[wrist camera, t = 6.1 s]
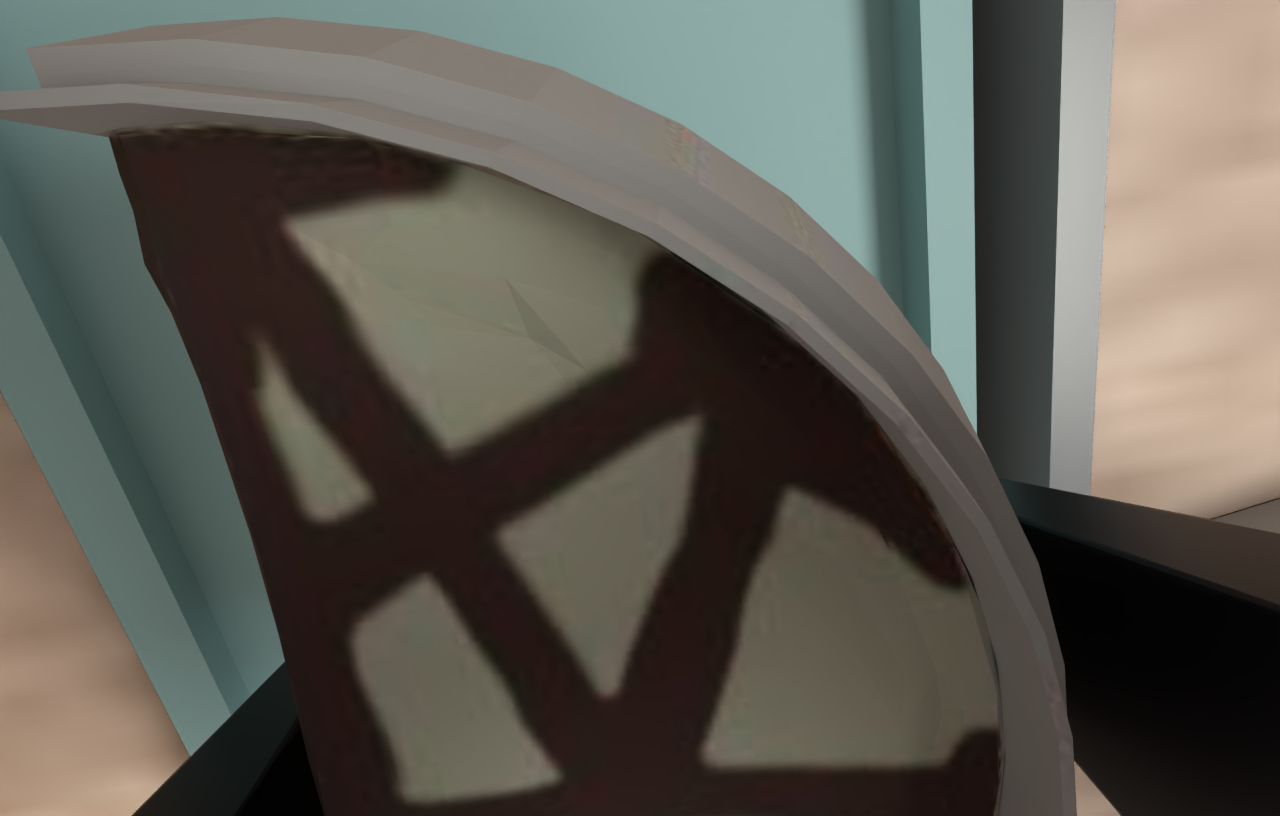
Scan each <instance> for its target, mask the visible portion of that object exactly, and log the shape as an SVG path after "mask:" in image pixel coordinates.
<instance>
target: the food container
mask: <svg viewBox="0 0 1280 816" xmlns="http://www.w3.org/2000/svg"><path fill="white" fill-rule="evenodd" d="M26 50H27V53H28V55H29V58H30V60H31V63H32V65H33V68H34V70H35V73H36V75H37V77H38V80H39V82H40V84H41V87H42V89H30V90H15V91H0V119H1V120H7V121H13V122H19V123H25V124H31V125H37V126H43V127H49V128H55V129H61V130H67V131H73V132H79V133H85V134H91V135H97V136H103V137H109V140H110V143H111V147H112V150H113V154H114V157H115V161H116V164H117V167H118V171H119V174H120V177H121V180H122V183H123V185H124V188H125V191H126V193H127V196H128V199H129V201H130V204H131V207H132V210H133V212H134V217H135V222H136V227H137V231H138V236H139V241H140V246H141V251H142V255H143V260H144V264H145V266H146V268H147V270H148V272H149V273H150V275H151V277H152V279H153V281H154V282H155V284H156V286H157V288H158V290H159V292H160V293H161V295H162V297H163V299H164V301H165V302H166V304H167V306H168V308H169V310H170V312H171V313H172V316H173V318H174V321H175V323H176V326H177V328H178V331H179V333H180V335H181V338H182V340H183V343H184V345H185V348H186V350H187V353H188V355H189V358H190V360H191V362H192V365H193V367H194V370H195V372H196V375H197V377H198V380H199V382H200V384H201V387H202V390H203V393H204V396H205V399H206V402H207V405H208V408H209V411H210V414H211V417H212V420H213V423H214V426H215V429H216V433H217V436H218V439H219V442H220V445H221V448H222V451H223V454H224V457H225V460H226V463H227V466H228V469H229V472H230V475H231V478H232V481H233V484H234V487H235V490H236V493H237V496H238V499H239V502H240V505H241V508H242V511H243V514H244V517H245V520H246V523H247V526H248V529H249V532H250V535H251V539H252V542H253V546H254V549H255V553H256V556H257V560H258V564H259V567H260V571H261V574H262V578H263V581H264V585H265V588H266V592H267V595H268V599H269V603H270V606H271V610H272V613H273V617H274V620H275V624H276V627H277V631H278V634H279V639H280V643H281V647H282V651H283V655H284V660H285V664H286V668H287V672H288V676H289V680H290V685H291V689H292V693H293V697H294V701H295V706H296V710H297V714H298V718H299V722H300V726H301V731H302V735H303V739H304V743H305V747H306V752H307V756H308V760H309V764H310V767H311V771H312V774H313V778H314V782H315V785H316V789H317V792H318V796H319V799H320V803H321V806H322V810H323V814H324V816H1077V812H1076V792H1075V772H1074V753H1073V737H1072V733H1071V729H1070V725H1069V722H1068V718H1067V704H1066V683H1065V665H1064V661H1063V657H1062V653H1061V649H1060V645H1059V641H1058V637H1057V634H1056V630H1055V626H1054V622H1053V618H1052V614H1051V610H1050V606H1049V602H1048V598H1047V594H1046V590H1045V586H1044V582H1043V579H1042V575H1041V571H1040V567H1039V563H1038V561H1037V559H1036V557H1035V555H1034V552H1033V550H1032V548H1031V546H1030V544H1029V542H1028V540H1027V538H1026V536H1025V534H1024V532H1023V529H1022V527H1021V525H1020V523H1019V521H1018V519H1017V517H1016V515H1015V513H1014V511H1013V508H1012V506H1011V504H1010V502H1009V500H1008V498H1007V496H1006V494H1005V492H1004V490H1003V487H1002V485H1001V483H1000V481H999V479H998V477H997V475H996V473H995V471H994V469H993V466H992V464H991V462H990V460H989V458H988V456H987V454H986V452H985V450H984V448H983V446H982V444H981V442H980V440H979V438H978V436H977V434H976V432H975V430H974V428H973V426H972V424H971V422H970V420H969V418H968V416H967V415H966V413H965V411H964V409H963V407H962V405H961V403H960V401H959V399H958V397H957V395H956V393H955V391H954V389H953V387H952V385H951V383H950V381H949V379H948V377H947V375H946V373H945V371H944V369H943V368H942V367H941V365H940V364H939V363H938V361H937V360H936V359H935V357H934V356H933V354H932V353H931V352H930V350H929V349H928V348H927V346H926V345H925V344H924V342H923V341H922V340H921V338H920V337H919V336H918V334H917V333H916V331H915V330H914V329H913V327H912V326H911V325H910V323H909V322H908V321H907V319H906V318H905V317H904V315H903V314H902V313H901V311H900V310H899V308H898V307H897V306H896V304H895V303H894V302H893V300H892V299H891V298H890V296H889V295H888V294H887V292H886V291H885V290H884V288H883V287H882V285H881V284H880V283H879V281H878V280H877V279H876V278H875V277H874V276H873V275H872V274H871V273H870V272H869V271H867V270H866V269H865V268H864V267H863V266H862V265H861V264H860V263H859V262H858V261H857V260H856V259H855V258H854V257H853V256H852V255H851V254H850V253H849V252H847V251H846V250H845V249H844V248H843V247H842V246H841V245H840V244H839V243H838V242H837V241H836V240H835V239H834V238H833V237H832V236H831V235H830V234H828V233H827V232H826V231H825V230H824V229H823V228H822V227H821V226H820V225H819V224H818V223H817V222H816V221H815V220H814V219H813V218H812V217H811V216H810V215H808V214H807V213H806V212H805V211H804V210H803V209H802V208H801V207H800V206H799V205H798V204H797V203H796V202H795V201H794V200H793V199H792V198H791V197H789V196H788V195H787V194H785V193H784V192H782V191H781V190H779V189H778V188H776V187H775V186H773V185H772V184H770V183H769V182H767V181H766V180H764V179H763V178H761V177H760V176H758V175H757V174H755V173H754V172H752V171H751V170H749V169H748V168H746V167H745V166H743V165H742V164H740V163H739V162H737V161H736V160H734V159H733V158H731V157H730V156H728V155H727V154H725V153H724V152H722V151H721V150H719V149H718V148H716V147H715V146H713V145H712V144H710V143H709V142H707V141H706V140H704V139H703V138H702V137H700V136H699V135H697V134H696V133H694V132H693V131H691V130H690V129H688V128H687V127H685V126H684V125H682V124H680V123H678V122H676V121H673V120H671V119H669V118H667V117H665V116H662V115H660V114H658V113H656V112H654V111H651V110H649V109H647V108H645V107H643V106H640V105H638V104H636V103H634V102H632V101H629V100H627V99H625V98H623V97H621V96H618V95H616V94H614V93H612V92H610V91H607V90H605V89H603V88H601V87H599V86H596V85H594V84H592V83H590V82H588V81H585V80H583V79H581V78H579V77H577V76H574V75H572V74H570V73H568V72H565V71H563V70H561V69H559V68H556V67H553V66H549V65H545V64H541V63H538V62H534V61H530V60H527V59H523V58H519V57H516V56H512V55H508V54H504V53H501V52H497V51H493V50H490V49H486V48H482V47H478V46H475V45H471V44H467V43H464V42H460V41H456V40H452V39H449V38H445V37H441V36H438V35H434V34H430V33H427V32H423V31H416V30H406V29H396V28H385V27H375V26H365V25H355V24H345V23H335V22H325V21H315V20H304V19H294V18H284V17H270V18H256V19H241V20H227V21H212V22H198V23H184V24H169V25H155V26H148V27H142V28H137V29H131V30H126V31H120V32H114V33H109V34H103V35H98V36H92V37H87V38H81V39H76V40H70V41H65V42H59V43H53V44H48V45H42V46H37V47H31V48H26Z"/></svg>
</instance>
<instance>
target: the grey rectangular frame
mask: <svg viewBox="0 0 1280 816" xmlns="http://www.w3.org/2000/svg"><path fill="white" fill-rule="evenodd" d="M1115 3H1116V0H972V24H973V118H974V211H975V304H976V397H977V436H978V438H979V440H980V442H981V444H982V446H983V448H984V450H985V452H986V454H987V456H988V458H989V460H990V462H991V464H992V466H993V469H994V471H995V473H996V475H997V477H998V478H1003V479H1008V480H1013V481H1019V482H1024V483H1029V484H1034V485H1039V486H1044V487H1049V488H1054V489H1059V490H1064V491H1069V492H1074V493H1079V494H1084V495H1089V496H1090V490H1091V470H1092V451H1093V431H1094V412H1095V392H1096V373H1097V353H1098V334H1099V314H1100V295H1101V275H1102V256H1103V237H1104V217H1105V198H1106V178H1107V159H1108V139H1109V120H1110V100H1111V81H1112V61H1113V42H1114V22H1115ZM1212 520H1216V521H1221V522H1226V523H1231V524H1236V525H1241V526H1246V527H1251V528H1256V529H1261V530H1266V531H1271V532H1277V533H1280V499H1278V500H1274V501H1271V502H1268V503H1264V504H1261V505H1258V506H1255V507H1251V508H1248V509H1245V510H1242V511H1238V512H1235V513H1232V514H1229V515H1225V516H1222V517H1219V518H1216V519H1212Z"/></svg>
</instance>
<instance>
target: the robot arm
mask: <svg viewBox="0 0 1280 816" xmlns="http://www.w3.org/2000/svg"><path fill="white" fill-rule="evenodd" d="M998 479H999V481H1000V483H1001V485H1002V487H1003V490H1004V492H1005V494H1006V496H1007V498H1008V500H1009V502H1010V504H1011V506H1012V508H1013V511H1014V513H1015V515H1016V517H1017V519H1018V521H1019V523H1020V525H1021V527H1022V529H1023V532H1024V534H1025V536H1026V538H1027V540H1028V542H1029V544H1030V546H1031V548H1032V550H1033V552H1034V555H1035V557H1036V559H1037V561H1038V563H1039V567H1040V571H1041V575H1042V579H1043V582H1044V586H1045V590H1046V594H1047V598H1048V602H1049V606H1050V610H1051V614H1052V618H1053V622H1054V626H1055V630H1056V634H1057V637H1058V641H1059V645H1060V649H1061V653H1062V657H1063V661H1064V665H1065V683H1066V704H1067V718H1068V722H1069V725H1070V729H1071V733H1072V737H1073V753H1074V761H1075V762H1076V764H1077V765H1078V766H1079V767H1080V768H1081V769H1082V771H1083V772H1084V773H1085V774H1086V775H1087V776H1088V778H1089V779H1090V780H1091V781H1092V782H1093V783H1094V785H1095V786H1096V787H1097V788H1098V789H1099V790H1100V792H1101V793H1102V794H1103V795H1104V796H1105V797H1106V799H1107V800H1108V801H1109V802H1110V803H1111V805H1112V806H1113V807H1114V808H1115V809H1116V810H1117V812H1118V813H1119V814H1120V815H1121V816H1280V533H1277V532H1271V531H1266V530H1261V529H1256V528H1251V527H1246V526H1241V525H1236V524H1231V523H1226V522H1221V521H1216V520H1211V519H1206V518H1201V517H1196V516H1191V515H1185V514H1180V513H1175V512H1170V511H1165V510H1160V509H1155V508H1150V507H1145V506H1140V505H1135V504H1130V503H1125V502H1120V501H1115V500H1110V499H1105V498H1099V497H1094V496H1089V495H1084V494H1079V493H1074V492H1069V491H1064V490H1059V489H1054V488H1049V487H1044V486H1039V485H1034V484H1029V483H1024V482H1019V481H1013V480H1008V479H1003V478H998ZM132 816H324V814H323V810H322V806H321V803H320V799H319V796H318V792H317V789H316V785H315V782H314V778H313V774H312V771H311V767H310V764H309V760H308V756H307V752H306V747H305V743H304V739H303V735H302V731H301V726H300V722H299V718H298V714H297V710H296V706H295V701H294V697H293V693H292V689H291V685H290V680H289V676H288V672H287V668H286V664H285V661H284V663H283V664H282V665H281V666H280V667H279V668H278V669H277V670H276V671H275V672H274V673H273V674H272V675H271V676H270V677H269V678H268V679H267V680H266V681H265V682H264V683H263V684H262V685H261V686H260V687H259V688H258V689H257V690H256V691H255V692H254V693H253V694H252V695H251V696H250V697H249V698H248V699H247V700H246V701H245V702H244V703H243V704H242V705H241V706H240V707H239V708H238V709H237V710H236V711H235V712H234V713H233V714H232V715H231V716H230V717H229V718H228V719H227V720H226V721H225V722H224V723H223V724H222V725H221V726H220V727H219V728H218V729H217V730H216V731H215V732H214V733H213V734H212V735H211V736H210V737H209V738H208V739H207V740H206V741H205V742H204V743H203V744H202V745H201V746H200V747H199V748H198V749H197V750H196V751H195V752H194V753H193V754H192V755H191V756H190V757H189V758H188V759H187V760H186V761H185V762H184V763H183V764H182V765H181V766H180V767H179V768H178V769H177V770H176V771H175V772H174V773H173V774H172V776H171V777H170V778H169V779H168V780H167V781H166V782H165V783H164V784H163V785H162V786H161V787H160V788H159V789H158V790H157V791H156V792H155V793H154V794H153V795H152V796H151V797H150V798H149V799H148V800H147V801H146V802H145V803H144V804H143V805H142V806H141V807H140V808H139V809H138V810H137V811H136V812H135V813H134V814H133V815H132Z"/></svg>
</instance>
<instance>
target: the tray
mask: <svg viewBox="0 0 1280 816" xmlns="http://www.w3.org/2000/svg"><path fill="white" fill-rule="evenodd" d="M270 17H284V18H294V19H304V20H315V21H325V22H335V23H345V24H355V25H365V26H375V27H385V28H396V29H406V30H416V31H423V32H427V33H430V34H434V35H438V36H441V37H445V38H449V39H452V40H456V41H460V42H464V43H467V44H471V45H475V46H478V47H482V48H486V49H490V50H493V51H497V52H501V53H504V54H508V55H512V56H516V57H519V58H523V59H527V60H530V61H534V62H538V63H541V64H545V65H549V66H553V67H556V68H559V69H561V70H563V71H565V72H568V73H570V74H572V75H574V76H577V77H579V78H581V79H583V80H585V81H588V82H590V83H592V84H594V85H596V86H599V87H601V88H603V89H605V90H607V91H610V92H612V93H614V94H616V95H618V96H621V97H623V98H625V99H627V100H629V101H632V102H634V103H636V104H638V105H640V106H643V107H645V108H647V109H649V110H651V111H654V112H656V113H658V114H660V115H662V116H665V117H667V118H669V119H671V120H673V121H676V122H678V123H680V124H682V125H684V126H685V127H687V128H688V129H690V130H691V131H693V132H694V133H696V134H697V135H699V136H700V137H702V138H703V139H704V140H706V141H707V142H709V143H710V144H712V145H713V146H715V147H716V148H718V149H719V150H721V151H722V152H724V153H725V154H727V155H728V156H730V157H731V158H733V159H734V160H736V161H737V162H739V163H740V164H742V165H743V166H745V167H746V168H748V169H749V170H751V171H752V172H754V173H755V174H757V175H758V176H760V177H761V178H763V179H764V180H766V181H767V182H769V183H770V184H772V185H773V186H775V187H776V188H778V189H779V190H781V191H782V192H784V193H785V194H787V195H788V196H789V197H791V198H792V199H793V200H794V201H795V202H796V203H797V204H798V205H799V206H800V207H801V208H802V209H803V210H804V211H805V212H806V213H807V214H808V215H810V216H811V217H812V218H813V219H814V220H815V221H816V222H817V223H818V224H819V225H820V226H821V227H822V228H823V229H824V230H825V231H826V232H827V233H828V234H830V235H831V236H832V237H833V238H834V239H835V240H836V241H837V242H838V243H839V244H840V245H841V246H842V247H843V248H844V249H845V250H846V251H847V252H849V253H850V254H851V255H852V256H853V257H854V258H855V259H856V260H857V261H858V262H859V263H860V264H861V265H862V266H863V267H864V268H865V269H866V270H867V271H869V272H870V273H871V274H872V275H873V276H874V277H875V278H876V279H877V280H878V281H879V283H880V284H881V285H882V287H883V288H884V290H885V291H886V292H887V294H888V295H889V296H890V298H891V299H892V300H893V302H894V303H895V304H896V306H897V307H898V308H899V310H900V311H901V313H902V314H903V315H904V317H905V318H906V319H907V321H908V322H909V323H910V325H911V326H912V327H913V329H914V330H915V331H916V333H917V334H918V336H919V337H920V338H921V340H922V341H923V342H924V344H925V345H926V346H927V348H928V349H929V350H930V352H931V353H932V354H933V356H934V357H935V359H936V360H937V361H938V363H939V364H940V365H941V367H942V368H943V369H944V371H945V373H946V375H947V377H948V379H949V381H950V383H951V385H952V387H953V389H954V391H955V393H956V395H957V397H958V399H959V401H960V403H961V405H962V407H963V409H964V411H965V413H966V415H967V416H968V418H969V420H970V422H971V424H972V426H973V428H974V430H975V432H976V434H977V397H976V304H975V211H974V118H973V24H972V0H0V91H15V90H30V89H42V87H41V84H40V82H39V80H38V77H37V75H36V73H35V70H34V68H33V65H32V63H31V60H30V58H29V55H28V53H27V50H26V48H31V47H37V46H42V45H48V44H53V43H59V42H65V41H70V40H76V39H81V38H87V37H92V36H98V35H103V34H109V33H114V32H120V31H126V30H131V29H137V28H142V27H148V26H155V25H169V24H184V23H198V22H212V21H227V20H241V19H256V18H270ZM0 391H1V393H2V395H3V397H4V399H5V401H6V403H7V405H8V407H9V409H10V411H11V413H12V415H13V416H14V418H15V420H16V422H17V424H18V426H19V428H20V430H21V432H22V434H23V436H24V438H25V440H26V442H27V443H28V445H29V447H30V449H31V451H32V453H33V455H34V457H35V459H36V461H37V463H38V465H39V467H40V468H41V470H42V472H43V474H44V476H45V478H46V480H47V482H48V484H49V486H50V488H51V490H52V492H53V494H54V495H55V497H56V499H57V501H58V503H59V505H60V507H61V509H62V511H63V513H64V515H65V517H66V519H67V520H68V522H69V524H70V526H71V528H72V530H73V532H74V534H75V536H76V538H77V540H78V542H79V544H80V546H81V547H82V549H83V551H84V553H85V555H86V557H87V559H88V561H89V563H90V565H91V567H92V569H93V571H94V572H95V574H96V576H97V578H98V580H99V582H100V584H101V586H102V588H103V590H104V592H105V594H106V596H107V598H108V599H109V601H110V603H111V605H112V607H113V609H114V611H115V613H116V615H117V617H118V619H119V621H120V623H121V624H122V626H123V628H124V630H125V632H126V634H127V636H128V638H129V640H130V642H131V644H132V646H133V648H134V649H135V651H136V653H137V655H138V657H139V659H140V661H141V663H142V665H143V667H144V669H145V671H146V673H147V675H148V676H149V678H150V680H151V682H152V684H153V686H154V688H155V690H156V692H157V694H158V696H159V698H160V700H161V701H162V703H163V705H164V707H165V709H166V711H167V713H168V715H169V717H170V719H171V721H172V723H173V725H174V727H175V728H176V730H177V732H178V734H179V736H180V738H181V740H182V742H183V744H184V746H185V748H186V750H187V752H188V753H189V755H190V756H191V755H192V754H193V753H194V752H195V751H196V750H197V749H198V748H199V747H200V746H201V745H202V744H203V743H204V742H205V741H206V740H207V739H208V738H209V737H210V736H211V735H212V734H213V733H214V732H215V731H216V730H217V729H218V728H219V727H220V726H221V725H222V724H223V723H224V722H225V721H226V720H227V719H228V718H229V717H230V716H231V715H232V714H233V713H234V712H235V711H236V710H237V709H238V708H239V707H240V706H241V705H242V704H243V703H244V702H245V701H246V700H247V699H248V698H249V697H250V696H251V695H252V694H253V693H254V692H255V691H256V690H257V689H258V688H259V687H260V686H261V685H262V684H263V683H264V682H265V681H266V680H267V679H268V678H269V677H270V676H271V675H272V674H273V673H274V672H275V671H276V670H277V669H278V668H279V667H280V666H281V665H282V664H283V663H284V661H285V660H284V655H283V651H282V647H281V643H280V639H279V634H278V631H277V627H276V624H275V620H274V617H273V613H272V610H271V606H270V603H269V599H268V595H267V592H266V588H265V585H264V581H263V578H262V574H261V571H260V567H259V564H258V560H257V556H256V553H255V549H254V546H253V542H252V539H251V535H250V532H249V529H248V526H247V523H246V520H245V517H244V514H243V511H242V508H241V505H240V502H239V499H238V496H237V493H236V490H235V487H234V484H233V481H232V478H231V475H230V472H229V469H228V466H227V463H226V460H225V457H224V454H223V451H222V448H221V445H220V442H219V439H218V436H217V433H216V429H215V426H214V423H213V420H212V417H211V414H210V411H209V408H208V405H207V402H206V399H205V396H204V393H203V390H202V387H201V384H200V382H199V380H198V377H197V375H196V372H195V370H194V367H193V365H192V362H191V360H190V358H189V355H188V353H187V350H186V348H185V345H184V343H183V340H182V338H181V335H180V333H179V331H178V328H177V326H176V323H175V321H174V318H173V316H172V313H171V312H170V310H169V308H168V306H167V304H166V302H165V301H164V299H163V297H162V295H161V293H160V292H159V290H158V288H157V286H156V284H155V282H154V281H153V279H152V277H151V275H150V273H149V272H148V270H147V268H146V266H145V264H144V260H143V255H142V251H141V246H140V241H139V236H138V231H137V227H136V222H135V217H134V212H133V210H132V207H131V204H130V201H129V199H128V196H127V193H126V191H125V188H124V185H123V183H122V180H121V177H120V174H119V171H118V167H117V164H116V161H115V157H114V154H113V150H112V147H111V143H110V140H109V137H103V136H97V135H91V134H85V133H79V132H73V131H67V130H61V129H55V128H49V127H43V126H37V125H31V124H25V123H19V122H13V121H7V120H1V119H0Z"/></svg>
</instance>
